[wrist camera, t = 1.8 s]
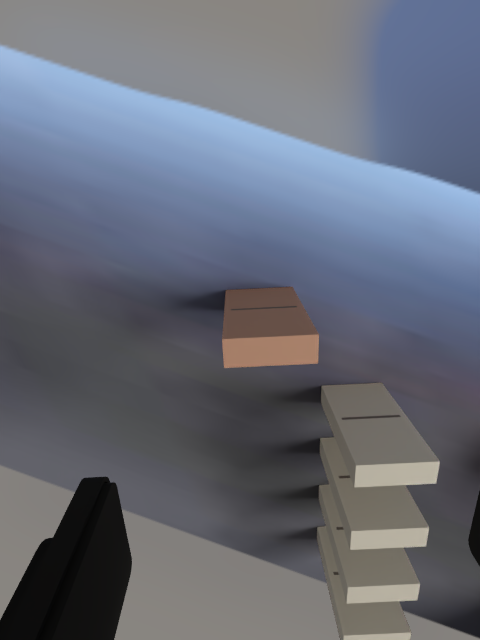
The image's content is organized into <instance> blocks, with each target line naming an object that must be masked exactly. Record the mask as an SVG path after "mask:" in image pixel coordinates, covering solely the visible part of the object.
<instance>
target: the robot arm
mask: <svg viewBox="0 0 480 640" xmlns="http://www.w3.org/2000/svg"><path fill="white" fill-rule="evenodd" d="M468 541H469V547H470V550H471V553H472V554H473V556H474V558H475V559H476V561H477V563H478V564H479V566H480V491H479V495H478V500H477V504H476V508H475V513H474V517H473V521H472V526H471V530H470V534H469V540H468ZM131 566H132V558H131V553H130V548H129V543H128V539H127V533H126V529H125V524H124V519H123V514H122V509H121V504H120V499H119V495H118V490H117V485H116V483H110V481H109V478H108V477H93V478H84V479H82V480H81V482H80V484H79V486H78V488H77V490H76V492H75V494H74V496H73V498H72V500H71V502H70V504H69V506H68V508H67V510H66V512H65V515H64V516H63V519H62V520H61V523H60V525H59V527H58V529H57V531H56V533H55V535H54V537H53V538H48V539H45V540H44V541H43V542H42V543H41V544H40V546H39V547H38V549H37V551H36V552H35V554H34V556H33V558H32V560H31V562H30V564H29V566H28V568H27V570H26V571H25V574H24V576H23V577H22V579H21V581H20V583H19V585H18V587H17V589H16V591H15V593H14V595H13V597H12V599H11V600H10V602H9V604H8V606H7V608H6V610H5V612H4V614H3V616H2V618H1V620H0V640H114V638H115V634H116V630H117V626H118V622H119V617H120V614H121V610H122V606H123V602H124V598H125V594H126V590H127V586H128V582H129V578H130V574H131Z"/></svg>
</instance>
